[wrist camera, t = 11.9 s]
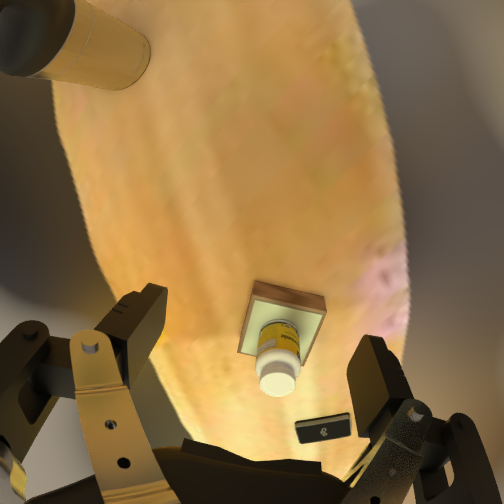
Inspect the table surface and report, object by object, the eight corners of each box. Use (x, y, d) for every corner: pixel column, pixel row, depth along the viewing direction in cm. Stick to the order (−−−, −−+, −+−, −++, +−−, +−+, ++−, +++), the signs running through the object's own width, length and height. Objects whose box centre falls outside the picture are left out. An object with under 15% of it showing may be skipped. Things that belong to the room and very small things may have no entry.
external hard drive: (294, 419, 53) (294, 427, 51) (349, 410, 51) (350, 417, 49) (299, 437, 55) (299, 444, 53) (350, 428, 53) (352, 435, 51)
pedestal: (240, 336, 46) (236, 353, 42) (254, 280, 42) (252, 295, 38) (302, 349, 46) (303, 367, 42) (323, 296, 42) (327, 312, 38)
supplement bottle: (306, 339, 40) (310, 390, 31) (273, 355, 41) (269, 406, 32) (285, 311, 38) (285, 361, 29) (251, 329, 40) (242, 379, 31)
